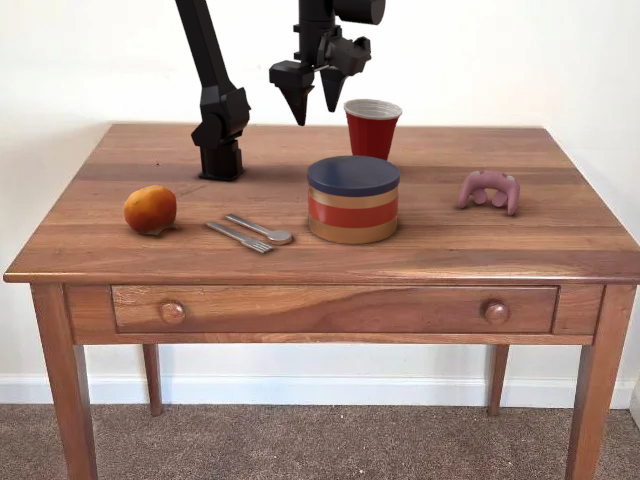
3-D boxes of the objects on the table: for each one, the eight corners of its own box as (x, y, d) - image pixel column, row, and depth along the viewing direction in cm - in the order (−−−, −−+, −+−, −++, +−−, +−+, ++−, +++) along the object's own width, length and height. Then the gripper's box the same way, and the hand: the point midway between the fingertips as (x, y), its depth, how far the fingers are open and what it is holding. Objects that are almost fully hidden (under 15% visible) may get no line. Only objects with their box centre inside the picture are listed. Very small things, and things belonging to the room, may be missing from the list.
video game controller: (516, 217, 126) (524, 176, 125) (514, 215, 122) (522, 172, 121) (459, 209, 129) (466, 168, 128) (455, 207, 124) (462, 164, 123)
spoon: (219, 220, 119) (219, 216, 119) (237, 214, 122) (236, 209, 121) (279, 247, 112) (278, 242, 111) (296, 239, 114) (296, 234, 114)
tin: (296, 238, 114) (294, 182, 109) (322, 203, 126) (321, 151, 121) (387, 249, 112) (390, 192, 107) (405, 212, 123) (407, 160, 119)
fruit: (161, 238, 110) (135, 188, 108) (133, 251, 115) (107, 204, 113) (199, 219, 116) (174, 172, 114) (170, 233, 121) (146, 188, 119)
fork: (203, 227, 117) (203, 224, 117) (214, 222, 119) (214, 220, 118) (262, 254, 110) (262, 250, 109) (273, 249, 111) (273, 246, 111)
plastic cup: (394, 182, 135) (397, 116, 128) (336, 177, 136) (336, 111, 130) (403, 162, 144) (407, 99, 137) (349, 157, 145) (349, 95, 139)
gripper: (329, 35, 105) (328, 143, 113) (391, 15, 118) (386, 113, 127) (264, 25, 109) (268, 129, 118) (331, 7, 123) (330, 102, 131)
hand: (317, 118), depth 123 cm, fingers open, 9 cm apart
